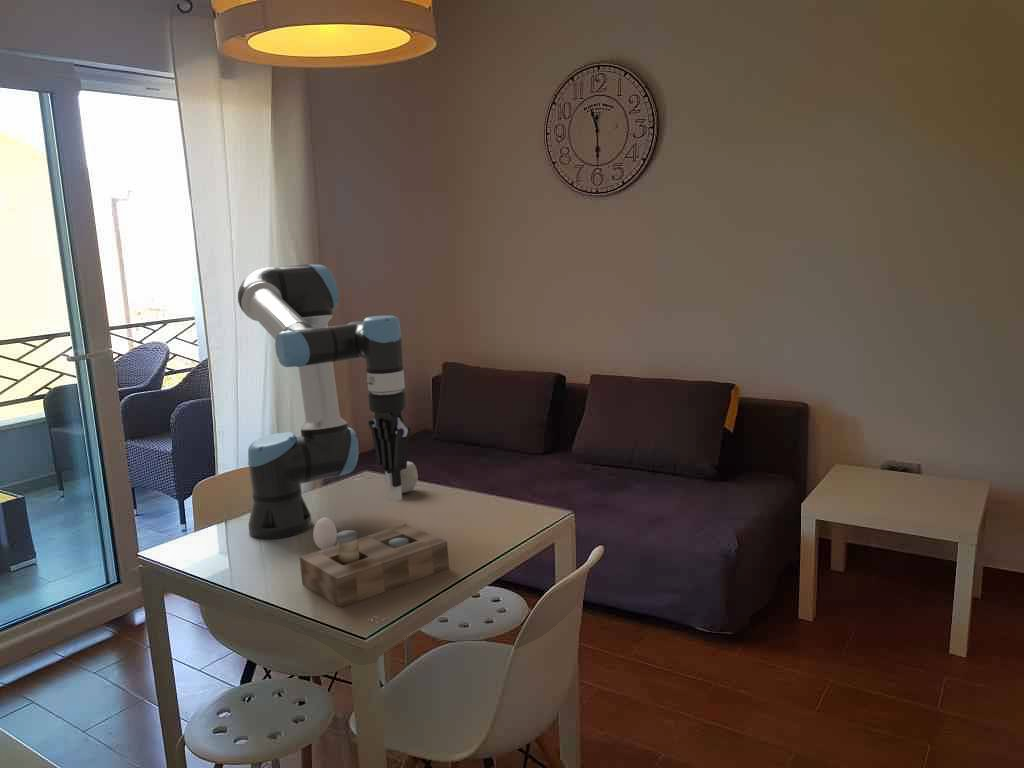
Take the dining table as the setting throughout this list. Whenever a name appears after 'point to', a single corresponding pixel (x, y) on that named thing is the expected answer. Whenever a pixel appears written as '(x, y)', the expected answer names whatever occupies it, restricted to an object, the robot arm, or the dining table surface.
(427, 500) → the dining table surface
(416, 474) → the decorative object
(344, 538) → the dowel
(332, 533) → the egg
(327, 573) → the walnut board
